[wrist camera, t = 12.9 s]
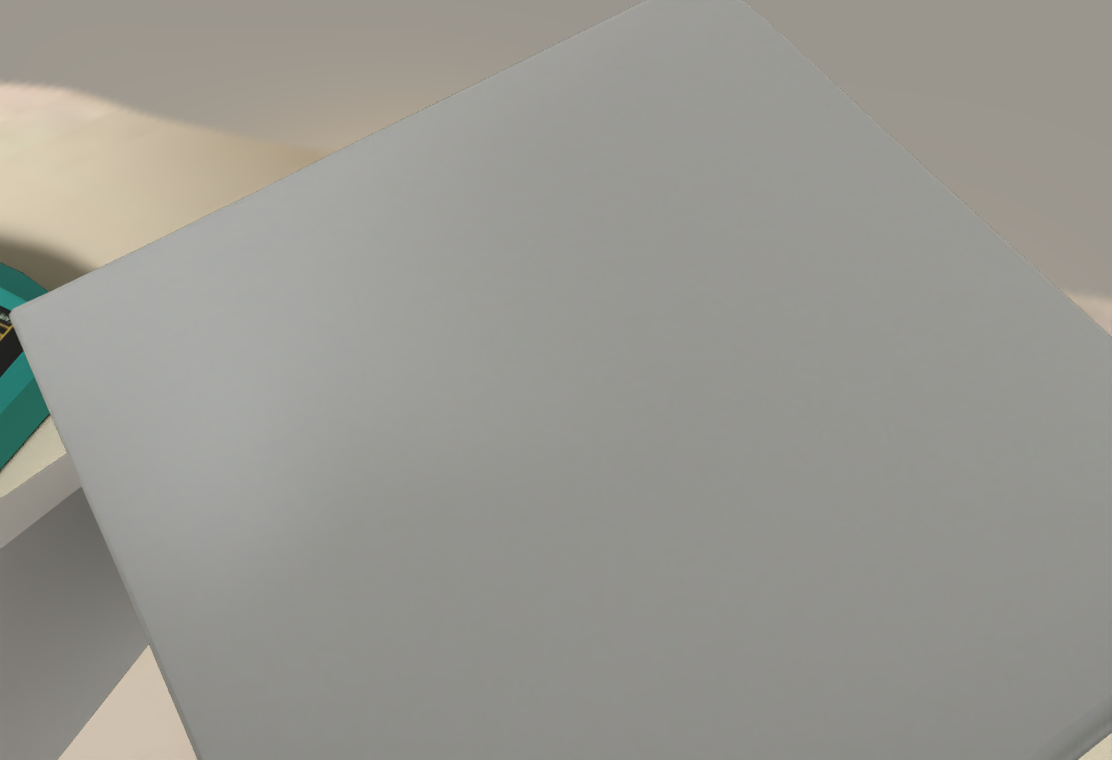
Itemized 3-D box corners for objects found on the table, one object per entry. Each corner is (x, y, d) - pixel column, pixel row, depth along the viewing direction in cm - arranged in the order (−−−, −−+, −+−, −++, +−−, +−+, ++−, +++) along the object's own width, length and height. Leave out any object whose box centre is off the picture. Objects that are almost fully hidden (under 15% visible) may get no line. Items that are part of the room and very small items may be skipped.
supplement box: (640, 456, 26) (727, -65, 11) (854, 740, 22) (1407, 528, 8) (346, 640, 24) (-36, 293, 9) (531, 990, 20) (409, 1393, 5)
